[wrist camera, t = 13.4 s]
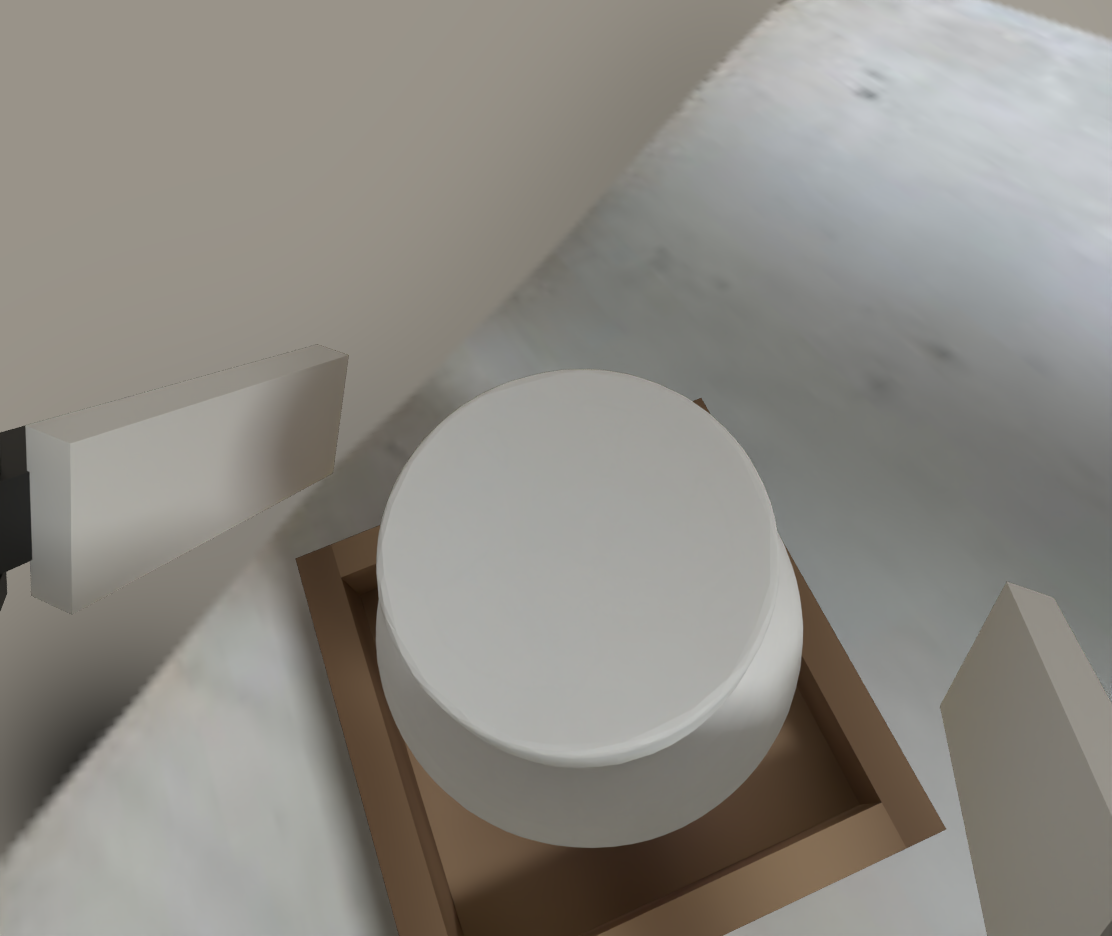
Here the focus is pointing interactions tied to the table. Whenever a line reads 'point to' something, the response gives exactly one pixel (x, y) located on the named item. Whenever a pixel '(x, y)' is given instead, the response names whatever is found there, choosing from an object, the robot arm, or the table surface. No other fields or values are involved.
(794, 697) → the walnut tray
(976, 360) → the table surface
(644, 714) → the supplement bottle
